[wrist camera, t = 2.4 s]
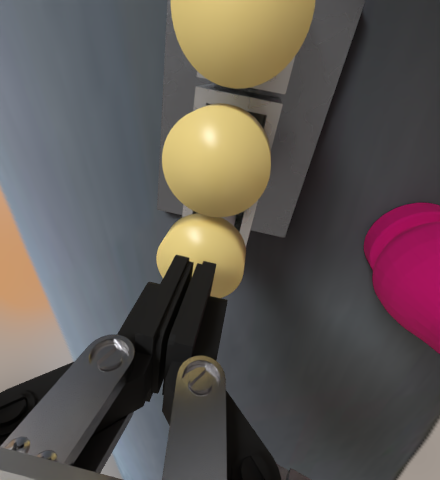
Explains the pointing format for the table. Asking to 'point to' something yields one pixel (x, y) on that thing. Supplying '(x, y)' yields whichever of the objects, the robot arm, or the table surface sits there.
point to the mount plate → (268, 110)
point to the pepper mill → (408, 267)
